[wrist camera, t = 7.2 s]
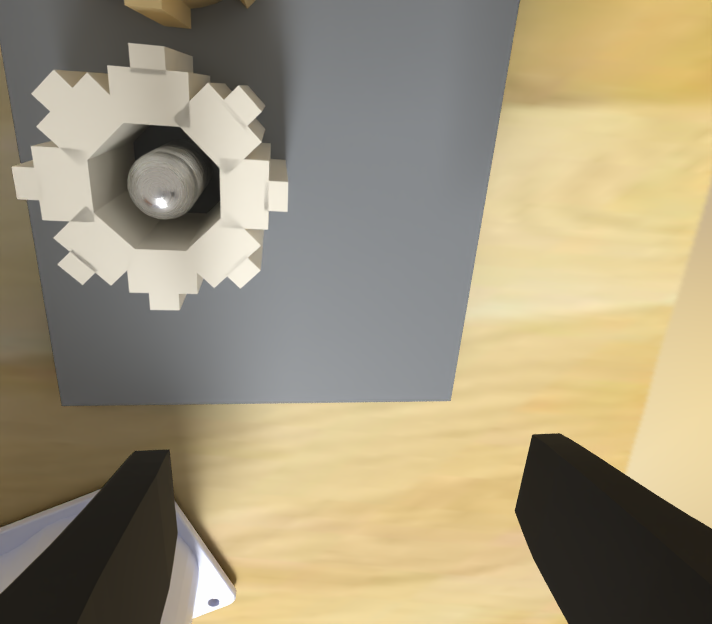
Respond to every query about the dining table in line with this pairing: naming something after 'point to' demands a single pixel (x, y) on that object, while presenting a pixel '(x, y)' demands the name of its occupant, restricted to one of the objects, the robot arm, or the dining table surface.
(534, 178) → the dining table surface
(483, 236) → the dining table surface
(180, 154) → the steel peg
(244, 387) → the gear board
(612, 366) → the dining table surface
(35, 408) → the dining table surface
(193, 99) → the gear
